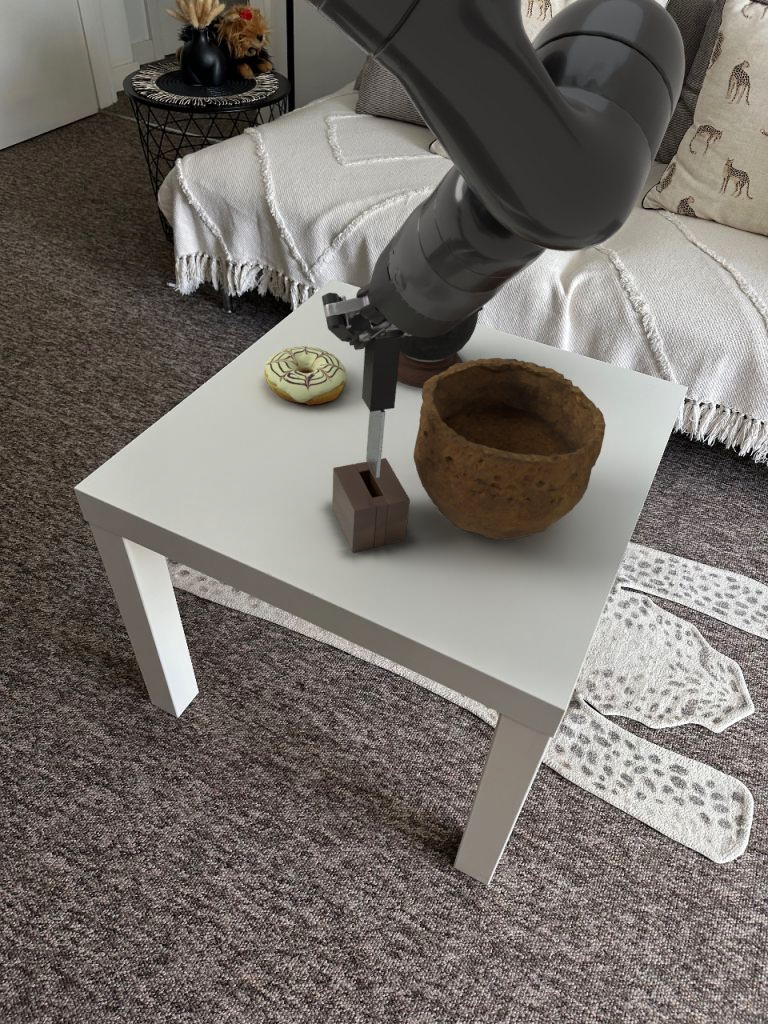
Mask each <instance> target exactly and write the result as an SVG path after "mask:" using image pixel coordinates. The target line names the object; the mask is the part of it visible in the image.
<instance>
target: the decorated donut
mask: <svg viewBox="0 0 768 1024" xmlns="http://www.w3.org/2000/svg"><path fill="white" fill-rule="evenodd" d="M265 361H266V362H265V365H264V372H263V373H264V377H265V379H266V381H267V384H268V387H270V389H271V390H272V391H273V393H275V394H276V395H277V396H278V397H280V398H282V399H283V400H287V401H289V402H293V403H295V402H296V403H300V404H305V405H308V406H312V405H320V404H325V403H326V402H332V401H335V400H336V399H338V397H339V395H340V394H341V393H342V392H343V390H344V388H345V383H346V381H347V380H348V375H347V371H346V368H345V366H344V364H343V363H342V361H341V360H340V359H339V358H338V357H337V356H335V354H333V353H332V352H328V351H327V350H324V349H321V348H319V347H312V346H293V347H289V348H288V347H287V348H285V349H283V350H280V351H278V352H277V353H275V354H273V355H271V356H270V357H269V358H267V359H266V360H265Z"/></svg>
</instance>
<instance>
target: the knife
mask: <svg viewBox="0 0 768 1024" xmlns="http://www.w3.org/2000/svg"><path fill="white" fill-rule="evenodd" d="M400 346H401V335H400V334H399V332H398V331H397V330H394V331H392V332H391V333H389V334H388V335H387V336H385V337H375V338H373V340H372V341H371V342H370V343H369V344H368V345H367V346H365V348H364V355H363V356H364V357H363V370H362V371H363V374H362V389H361V399H362V400H363V402H364V404H365V406H366V407H367V409H368V410H369V411H368V413H369V415H368V428H367V441H366V455H365V457H366V458H365V460H366V461H365V462H368V464H369V466H370V468H371V470H372V472H373V473H374V475H375V477H376V478H379V477H380V467H381V459H382V454H383V445H384V444H383V442H384V434H385V433H384V431H385V420H386V410H392V409H395V404H396V397H397V396H396V393H397V386H398V385H397V383H398V380H397V376H398V366H399V356H400Z"/></svg>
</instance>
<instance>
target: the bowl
mask: <svg viewBox="0 0 768 1024" xmlns="http://www.w3.org/2000/svg"><path fill="white" fill-rule="evenodd" d="M564 375H565V374H563V373H561V372H558V371H556V370H555V369H553V368H551V367H546V366H545V365H539V364H537V363H535V362H530V361H524V360H518V359H516V358H501V357H492V358H491V357H490V358H478V359H476V360H474V359H469V360H467V361H464V362H462V363H457V364H455V365H453V366H450V367H449V368H448V369H447V371H444V372H442V373H440V374H439V375H435V376H433V377H431V378H430V379H429V380H427V381H426V382H425V383H424V385H423V388H421V389H422V390H421V398H422V403H421V406H420V411H419V421H418V422H419V426H418V429H417V430H418V431H417V435H416V439H415V444H414V449H413V459H414V465H415V469H416V473H417V476H418V478H419V480H420V484H421V486H422V488H423V490H424V491H425V492H426V494H427V496H428V498H429V499H430V501H431V502H432V503H433V504H434V506H435V507H436V509H438V511H439V512H440V513H441V514H442V515H443V516H444V517H445V518H446V519H447V520H448V521H450V522H451V523H452V524H453V525H454V526H456V527H457V529H461V530H463V531H468V532H471V533H474V534H478V535H480V536H483V537H486V538H489V539H492V540H513V539H517V538H523V537H528V536H532V535H536V534H540V533H543V532H545V531H546V530H547V529H549V528H550V527H551V526H552V525H553V524H555V523H556V522H558V521H559V520H560V519H562V518H564V517H565V516H566V515H568V513H570V512H571V511H573V509H574V508H575V507H576V506H577V505H579V503H580V501H581V500H582V499H583V497H584V495H585V494H586V492H587V489H588V487H589V484H590V480H591V474H592V470H593V468H594V467H595V466H596V463H597V461H598V459H599V457H600V455H601V452H602V447H603V444H604V443H603V442H604V438H605V434H606V432H605V431H606V426H607V425H606V422H605V417H604V414H603V412H602V410H601V409H600V407H597V406H596V404H595V403H594V401H592V400H591V399H590V398H589V397H587V395H586V394H585V393H584V391H583V390H582V389H581V388H580V387H579V386H577V385H574V384H573V380H572V379H568V378H565V376H564Z"/></svg>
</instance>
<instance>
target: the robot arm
mask: <svg viewBox="0 0 768 1024" xmlns="http://www.w3.org/2000/svg"><path fill="white" fill-rule="evenodd" d="M304 1H305V2H306V3H307V4H308V5H310V6H311V7H312V8H313V9H315V10H317V12H318V13H319V14H320V15H321V16H322V17H324V18H325V19H326V20H327V21H328V22H329V23H331V25H333V26H334V27H335V28H336V29H337V30H338V31H340V33H342V34H343V36H345V37H346V38H347V39H349V40H350V41H351V42H352V43H354V45H355V46H357V48H359V49H360V50H361V51H363V52H364V54H366V55H367V56H370V57H371V59H372V60H373V61H374V62H375V63H377V64H378V65H379V66H380V67H381V68H383V69H384V70H385V71H386V72H388V73H389V74H390V75H391V76H392V77H393V78H394V79H395V81H397V83H398V85H400V87H401V88H402V90H403V92H404V93H405V94H406V96H407V97H408V99H409V100H410V102H411V103H412V105H413V107H414V108H415V110H416V111H417V113H418V114H419V116H420V118H421V119H422V120H423V122H424V124H425V125H426V126H427V128H428V129H429V131H430V132H431V134H432V135H433V136H434V137H435V139H436V140H437V142H438V143H439V145H440V146H441V147H442V149H443V151H444V152H445V153H446V155H447V157H448V158H449V160H450V161H451V162H452V164H453V165H452V166H451V167H450V169H448V171H447V172H446V173H445V174H444V176H443V177H442V178H441V180H440V181H439V182H438V183H437V185H436V186H435V188H434V189H433V190H432V192H431V193H430V194H429V195H428V196H427V197H426V198H425V199H423V200H422V201H421V202H420V203H419V204H418V205H416V207H415V208H414V209H413V210H412V211H411V213H410V214H409V215H408V216H407V217H406V219H405V220H404V221H403V223H402V224H401V226H400V227H399V228H398V230H397V231H396V232H395V234H394V235H393V236H392V238H391V239H390V241H389V242H388V243H387V244H386V246H385V247H384V248H383V250H382V251H381V252H380V254H379V256H378V258H377V260H376V262H375V264H374V266H373V270H372V275H371V278H370V282H369V283H367V284H366V285H363V286H362V287H360V288H359V289H358V290H357V292H356V293H355V294H356V295H355V297H353V298H348V299H347V296H346V295H339V294H338V293H336V292H327V293H326V294H323V295H322V296H321V302H322V306H323V312H324V316H325V319H326V320H325V321H326V325H327V329H328V331H329V332H331V333H332V334H333V335H334V336H335V337H336V338H338V339H339V340H340V341H341V342H343V343H344V342H346V343H348V344H349V346H351V347H352V346H353V348H354V350H355V351H358V350H359V351H360V350H365V346H367V345H368V344H369V343H370V342H371V341H372V340H373V338H375V337H385V336H387V335H388V334H389V333H391V332H392V331H394V330H397V331H398V332H399V334H400V335H401V339H402V338H403V337H405V336H407V335H408V336H412V335H413V336H417V337H435V336H439V335H442V334H444V333H446V332H448V331H450V330H451V329H453V328H454V327H455V326H457V325H458V324H459V323H461V322H462V321H463V320H465V319H466V318H468V317H469V316H470V315H472V314H474V313H478V314H479V313H480V312H481V311H483V310H484V306H485V305H487V304H488V303H489V302H490V301H492V300H493V298H495V297H496V296H497V295H498V294H499V293H500V292H501V291H502V290H503V288H504V287H505V286H506V285H507V284H508V283H509V282H510V281H512V280H513V279H515V278H516V277H517V276H518V275H520V274H521V273H522V272H524V271H525V270H526V269H527V268H529V267H530V266H532V265H533V264H534V263H535V262H536V261H537V260H538V259H540V257H541V256H542V255H543V254H544V253H545V252H546V251H547V250H550V251H556V252H557V251H558V252H565V253H566V252H577V251H578V252H579V251H585V250H589V249H592V248H594V247H598V246H599V245H602V244H603V243H605V242H607V241H608V240H610V239H612V237H613V236H615V235H616V234H617V233H618V232H619V231H621V229H622V228H623V226H624V225H625V224H626V222H627V221H628V219H629V218H630V216H631V215H632V213H633V211H634V209H635V208H636V206H637V203H638V201H639V199H640V197H641V194H642V193H643V192H642V191H643V189H644V187H645V184H646V183H647V182H646V181H647V179H648V177H649V174H650V171H651V169H652V167H653V164H654V161H655V159H656V157H657V154H658V152H659V150H660V147H661V145H662V142H663V139H664V137H665V135H666V132H667V130H668V127H669V125H670V122H671V120H672V117H673V115H674V112H675V110H676V108H677V105H678V102H679V99H680V97H681V92H682V90H683V84H684V78H685V71H686V55H685V46H684V41H683V36H682V34H681V31H680V28H679V26H678V24H677V22H676V21H675V20H674V17H673V16H672V15H671V14H670V13H669V11H667V9H666V8H665V7H664V6H663V5H662V4H661V3H659V2H658V1H656V0H575V1H573V2H571V3H569V4H568V5H567V6H565V7H564V8H562V9H561V10H560V11H558V12H557V13H556V14H555V15H554V16H553V17H552V18H551V19H550V20H548V22H547V23H545V25H544V26H543V27H542V28H541V30H539V32H538V33H537V35H536V36H535V37H534V39H533V40H532V41H531V40H530V37H529V36H528V33H527V31H526V29H525V26H524V21H523V14H522V0H304Z"/></svg>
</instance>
